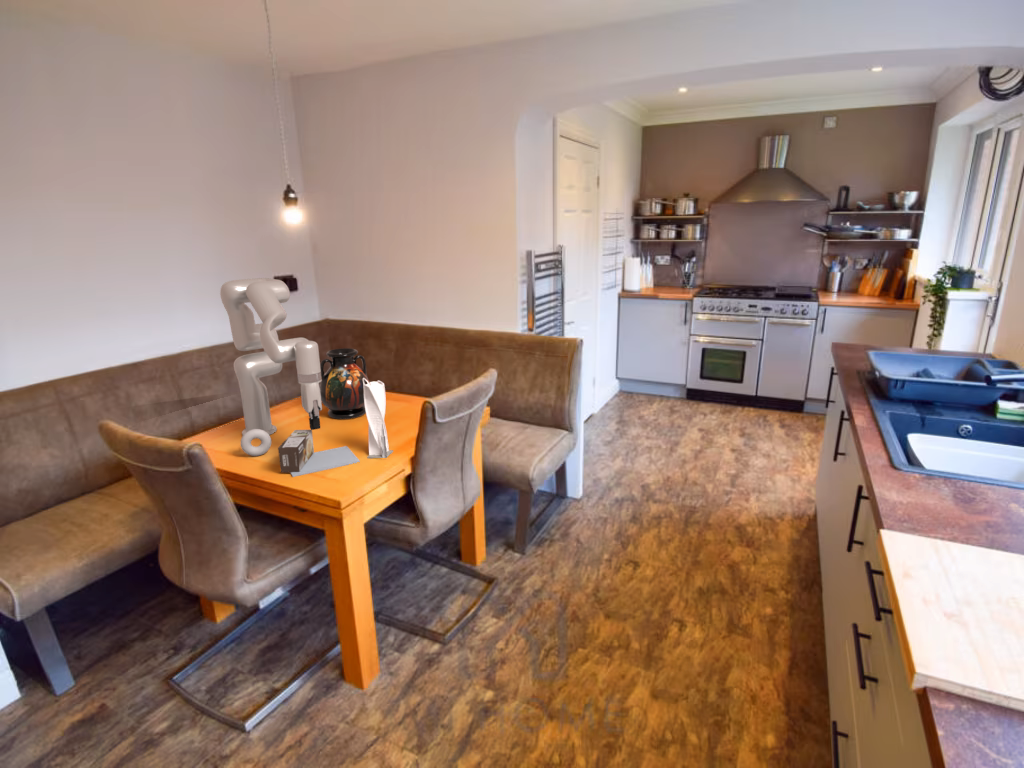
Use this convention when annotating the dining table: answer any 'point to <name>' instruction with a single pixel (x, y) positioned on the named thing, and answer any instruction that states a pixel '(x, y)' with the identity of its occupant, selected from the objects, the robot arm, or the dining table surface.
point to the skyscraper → (376, 419)
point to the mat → (328, 460)
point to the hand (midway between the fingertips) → (315, 428)
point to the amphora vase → (343, 384)
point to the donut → (254, 450)
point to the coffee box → (296, 451)
